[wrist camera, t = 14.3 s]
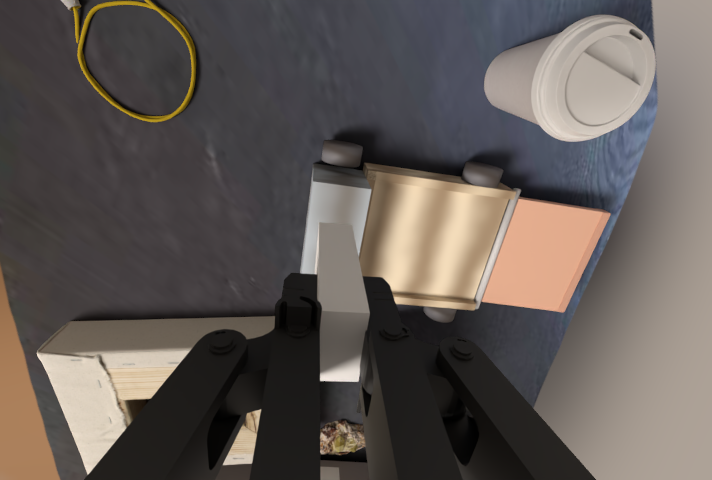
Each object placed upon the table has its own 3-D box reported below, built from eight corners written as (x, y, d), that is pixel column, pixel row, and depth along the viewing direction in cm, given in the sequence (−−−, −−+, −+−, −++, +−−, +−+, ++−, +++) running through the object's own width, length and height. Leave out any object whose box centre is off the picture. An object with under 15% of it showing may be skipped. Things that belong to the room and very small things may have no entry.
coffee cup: (567, 80, 42) (685, 84, 29) (501, 140, 44) (581, 169, 31) (523, 10, 39) (634, -23, 25) (454, 79, 41) (522, 81, 27)
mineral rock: (313, 466, 63) (312, 447, 58) (312, 439, 66) (312, 419, 61) (374, 459, 64) (379, 440, 59) (371, 433, 68) (375, 413, 63)
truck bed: (297, 291, 51) (294, 328, 43) (316, 136, 42) (316, 150, 35) (459, 306, 54) (481, 342, 47) (506, 166, 46) (541, 184, 39)
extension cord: (176, -57, 34) (168, -64, 32) (209, 118, 41) (204, 121, 39) (38, -56, 33) (22, -64, 31) (95, 123, 40) (84, 126, 38)
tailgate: (473, 308, 50) (561, 319, 52) (515, 189, 44) (615, 205, 45) (469, 301, 52) (554, 312, 53) (509, 185, 45) (606, 201, 47)
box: (305, 308, 53) (66, 317, 49) (304, 345, 46) (25, 359, 42) (309, 419, 63) (110, 434, 59) (308, 463, 56) (83, 483, 52)
